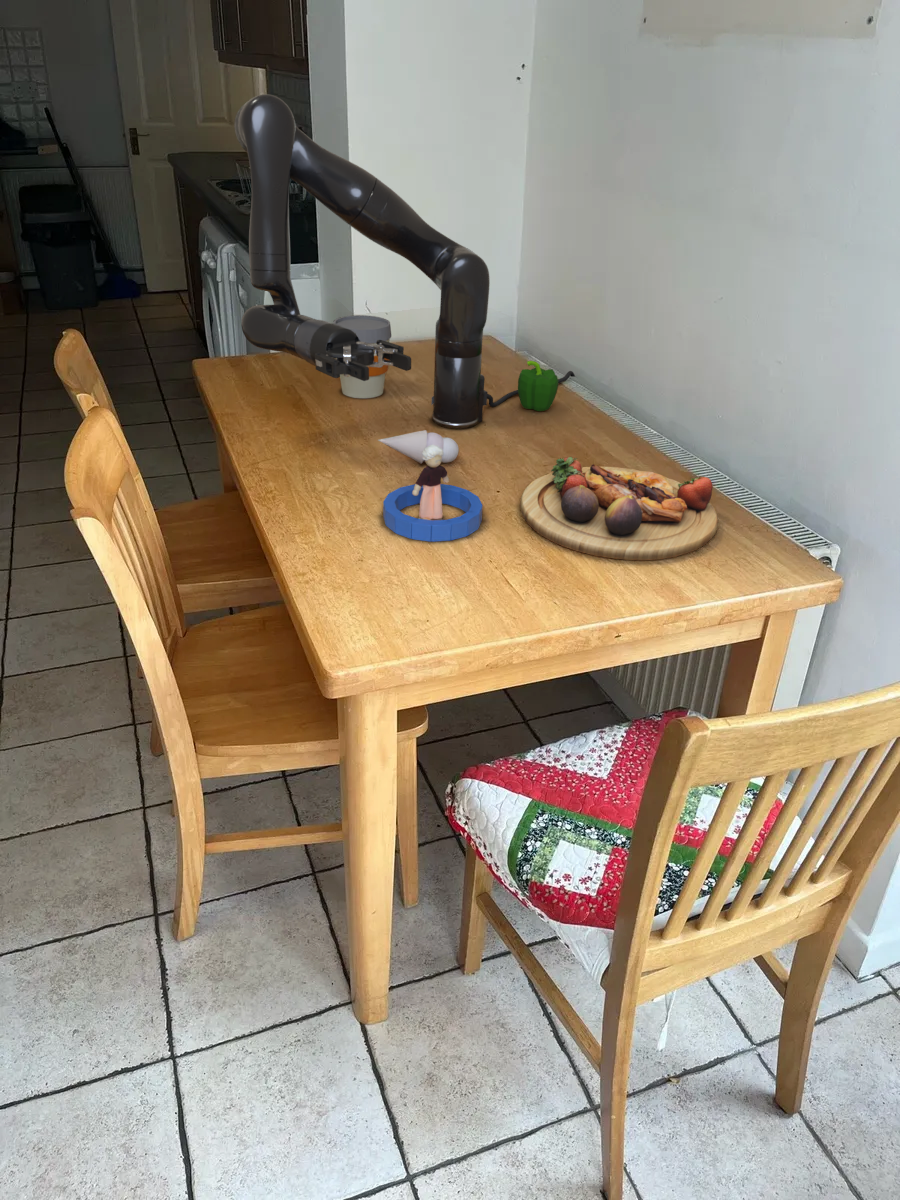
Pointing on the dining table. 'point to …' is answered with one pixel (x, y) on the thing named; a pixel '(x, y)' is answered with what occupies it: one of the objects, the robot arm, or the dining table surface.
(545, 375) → the bell pepper
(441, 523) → the tape ring
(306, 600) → the dining table surface
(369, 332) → the reusable coffee cup
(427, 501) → the grandmother figurine
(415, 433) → the ice cream cone
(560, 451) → the dining table surface
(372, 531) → the dining table surface
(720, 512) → the dining table surface
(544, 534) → the wooden plate
